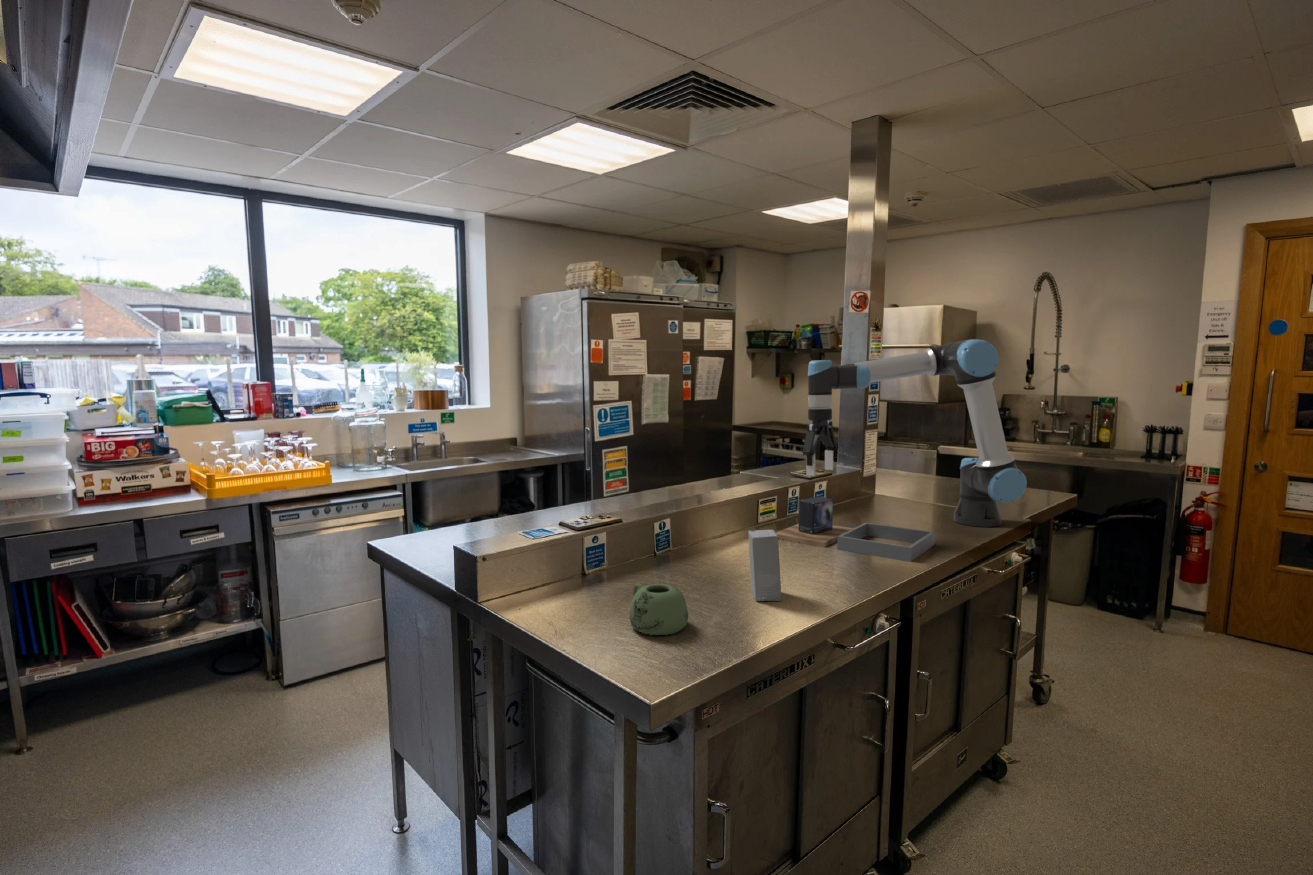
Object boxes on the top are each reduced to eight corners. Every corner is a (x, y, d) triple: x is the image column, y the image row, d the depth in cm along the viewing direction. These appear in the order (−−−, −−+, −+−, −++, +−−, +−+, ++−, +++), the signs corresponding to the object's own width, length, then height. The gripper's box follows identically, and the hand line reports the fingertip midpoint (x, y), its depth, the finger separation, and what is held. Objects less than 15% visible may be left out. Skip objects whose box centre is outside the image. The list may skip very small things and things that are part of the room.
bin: (865, 534, 215) (865, 522, 215) (934, 544, 201) (934, 532, 201) (837, 549, 198) (837, 536, 198) (910, 561, 185) (910, 547, 184)
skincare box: (782, 601, 155) (782, 536, 153) (751, 602, 155) (751, 537, 153) (776, 589, 163) (776, 528, 161) (747, 590, 163) (747, 528, 162)
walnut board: (804, 525, 229) (804, 521, 229) (853, 532, 218) (853, 528, 218) (773, 538, 212) (773, 533, 212) (824, 547, 201) (824, 542, 201)
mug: (701, 628, 140) (700, 589, 139) (652, 644, 132) (651, 603, 131) (657, 607, 152) (656, 571, 152) (610, 620, 145) (609, 583, 144)
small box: (813, 535, 210) (813, 503, 209) (797, 531, 215) (797, 500, 214) (833, 529, 216) (834, 498, 215) (817, 526, 221) (818, 495, 220)
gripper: (825, 405, 223) (825, 466, 225) (791, 410, 204) (791, 477, 206) (846, 405, 218) (846, 468, 220) (813, 410, 199) (813, 479, 201)
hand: (820, 472), depth 213 cm, fingers open, 13 cm apart
